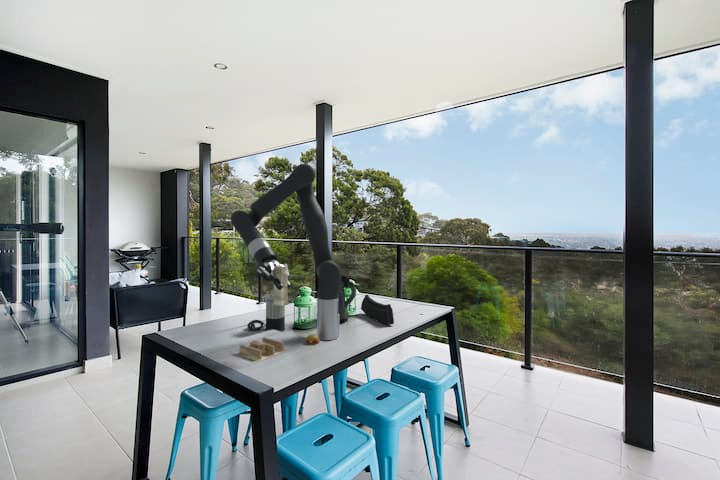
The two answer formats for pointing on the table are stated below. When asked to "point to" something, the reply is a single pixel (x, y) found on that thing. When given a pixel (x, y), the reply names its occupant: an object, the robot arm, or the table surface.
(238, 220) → the robot arm
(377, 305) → the magazine
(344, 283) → the beer stein
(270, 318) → the milk frother
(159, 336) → the table surface
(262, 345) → the offcut stack
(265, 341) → the pine rack
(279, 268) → the tall birch block
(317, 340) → the hamburger
